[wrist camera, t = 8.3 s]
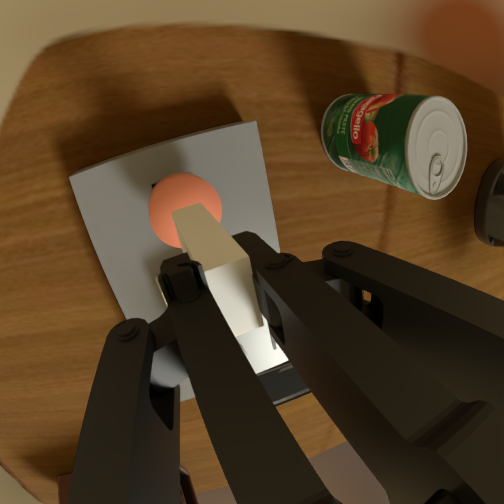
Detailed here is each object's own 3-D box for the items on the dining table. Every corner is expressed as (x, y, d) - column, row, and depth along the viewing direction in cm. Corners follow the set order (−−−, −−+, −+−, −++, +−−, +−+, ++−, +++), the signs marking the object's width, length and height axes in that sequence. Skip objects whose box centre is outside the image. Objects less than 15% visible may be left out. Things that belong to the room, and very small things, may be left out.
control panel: (242, 120, 25) (260, 120, 21) (284, 340, 36) (299, 361, 32) (76, 171, 21) (66, 179, 18) (169, 384, 32) (175, 409, 29)
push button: (196, 158, 22) (213, 167, 18) (210, 213, 24) (229, 235, 20) (138, 176, 21) (140, 190, 17) (155, 231, 23) (162, 257, 19)
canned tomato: (323, 87, 26) (412, 82, 16) (384, 102, 28) (471, 109, 19) (316, 169, 29) (400, 198, 19) (377, 173, 31) (459, 201, 22)
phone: (340, 379, 42) (242, 418, 38) (336, 374, 43) (239, 412, 39) (345, 339, 39) (233, 381, 34) (340, 334, 39) (230, 375, 35)
